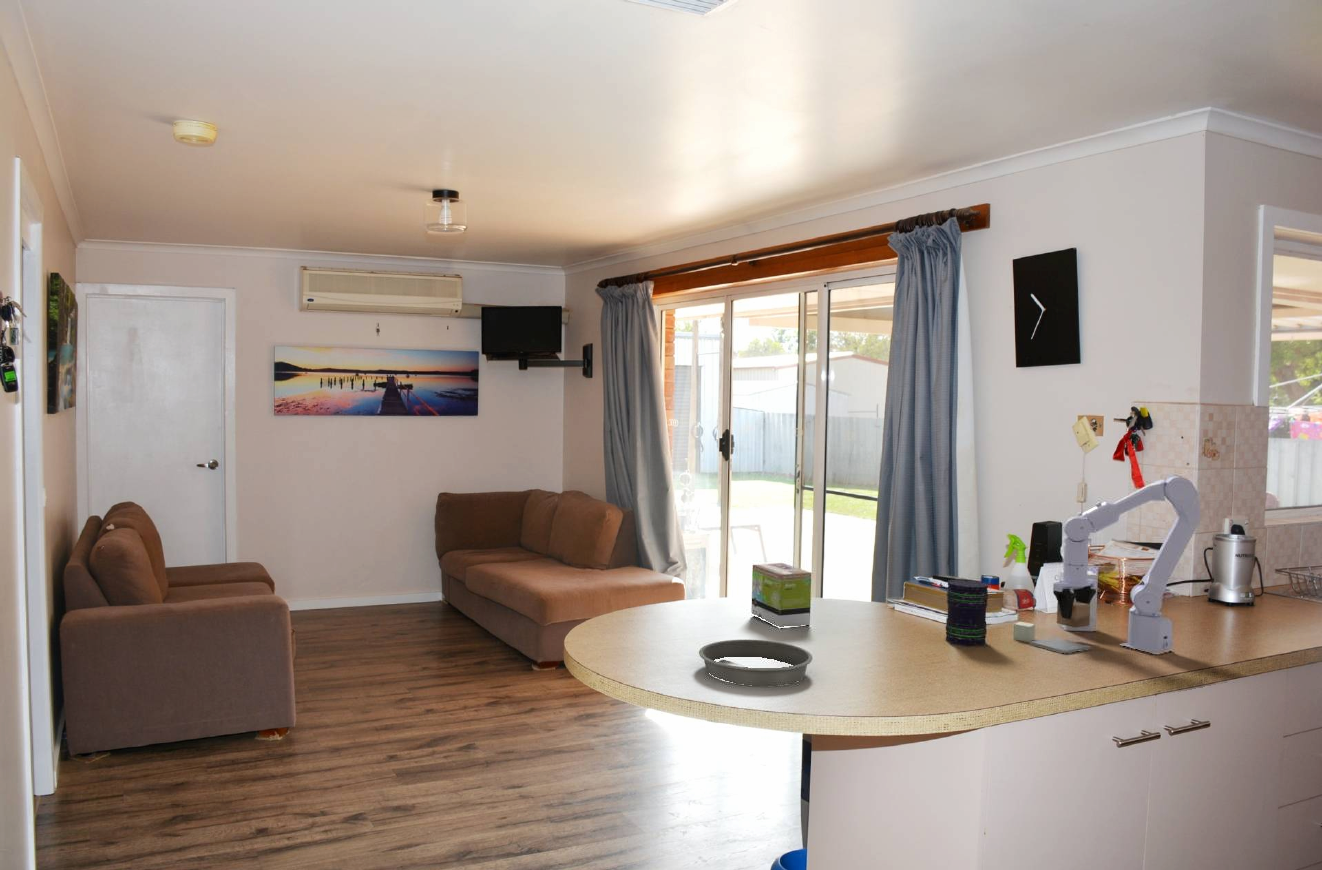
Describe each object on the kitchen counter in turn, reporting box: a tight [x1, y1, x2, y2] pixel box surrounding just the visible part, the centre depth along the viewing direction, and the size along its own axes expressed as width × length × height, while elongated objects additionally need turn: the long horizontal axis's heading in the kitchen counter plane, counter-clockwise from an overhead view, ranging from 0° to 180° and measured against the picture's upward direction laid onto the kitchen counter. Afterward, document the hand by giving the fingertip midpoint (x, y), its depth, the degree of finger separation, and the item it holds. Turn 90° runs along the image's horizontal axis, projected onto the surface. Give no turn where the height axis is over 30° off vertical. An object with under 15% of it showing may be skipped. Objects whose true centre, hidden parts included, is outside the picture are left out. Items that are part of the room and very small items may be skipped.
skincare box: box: [1058, 569, 1099, 632], centre depth 256 cm, size 8×7×16 cm
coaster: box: [1029, 636, 1092, 655], centre depth 236 cm, size 10×10×1 cm
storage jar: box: [945, 578, 989, 648], centre depth 238 cm, size 10×10×15 cm
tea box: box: [750, 562, 812, 627], centre depth 255 cm, size 15×10×15 cm, turn 25°
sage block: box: [1012, 621, 1036, 643], centre depth 243 cm, size 4×4×4 cm
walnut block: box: [1056, 601, 1090, 628], centre depth 243 cm, size 6×6×6 cm
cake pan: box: [698, 639, 813, 687], centre depth 206 cm, size 25×25×4 cm
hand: (1073, 617), depth 243 cm, fingers closed on walnut block, 5 cm apart
